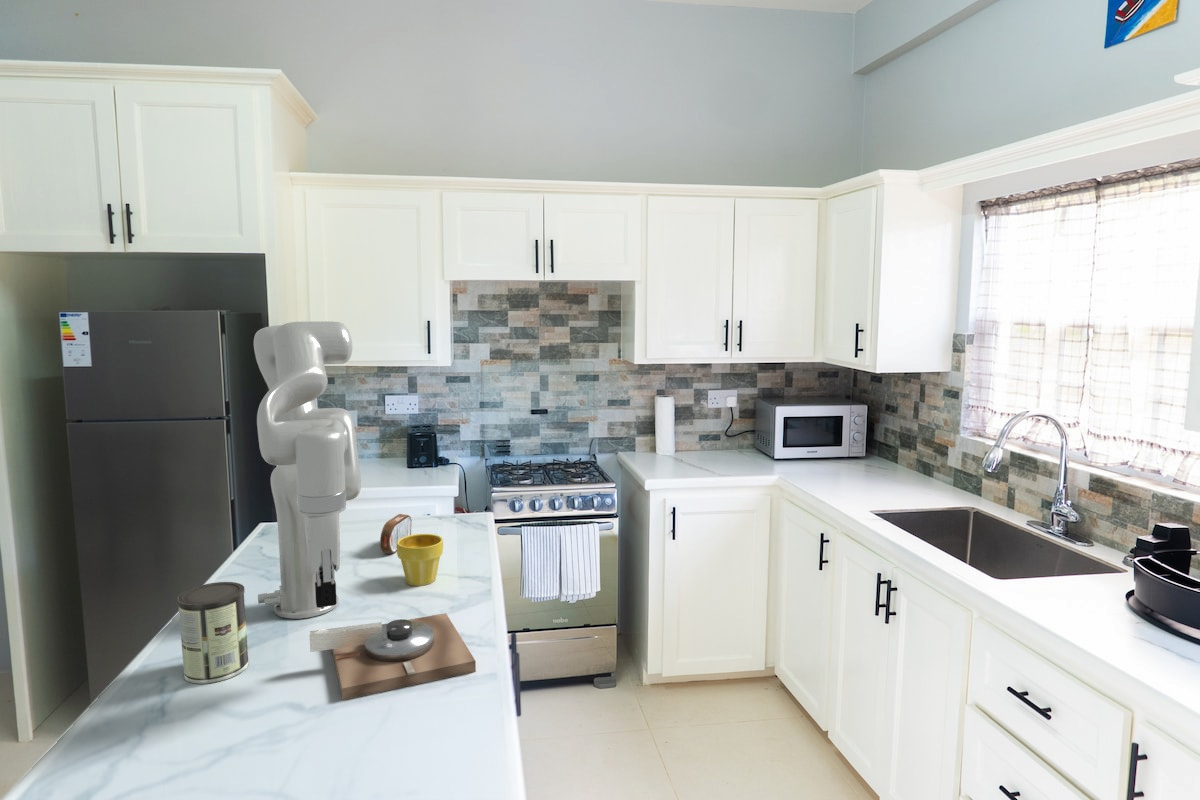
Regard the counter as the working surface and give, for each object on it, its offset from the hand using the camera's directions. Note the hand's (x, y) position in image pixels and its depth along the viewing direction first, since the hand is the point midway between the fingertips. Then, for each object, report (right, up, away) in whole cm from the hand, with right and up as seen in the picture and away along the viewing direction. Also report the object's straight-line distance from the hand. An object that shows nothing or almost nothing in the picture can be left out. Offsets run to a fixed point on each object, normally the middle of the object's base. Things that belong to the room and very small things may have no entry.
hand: (326, 604), depth 124 cm
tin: (-7, -4, +67) cm, 68 cm away
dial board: (+11, -12, +7) cm, 17 cm away
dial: (+6, -10, +6) cm, 13 cm away
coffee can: (-20, -12, +3) cm, 24 cm away
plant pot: (+5, -7, +44) cm, 45 cm away
